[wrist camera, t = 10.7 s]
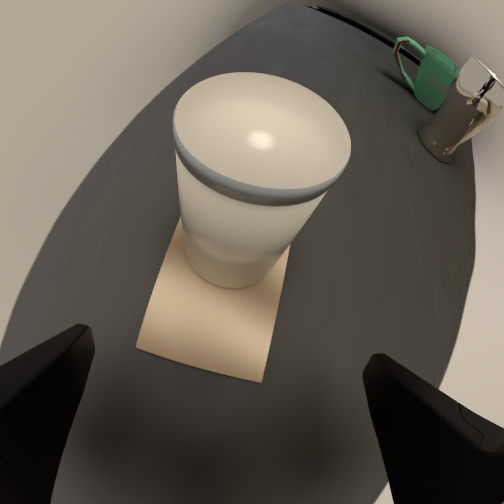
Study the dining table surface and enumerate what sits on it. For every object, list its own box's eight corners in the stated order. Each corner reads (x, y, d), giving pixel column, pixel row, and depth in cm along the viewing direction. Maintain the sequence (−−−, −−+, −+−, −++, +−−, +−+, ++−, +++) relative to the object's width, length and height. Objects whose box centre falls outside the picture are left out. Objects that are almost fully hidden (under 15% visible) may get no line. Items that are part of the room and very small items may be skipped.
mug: (441, 105, 37) (466, 72, 28) (448, 129, 33) (479, 91, 24) (379, 64, 38) (400, 26, 29) (377, 81, 33) (403, 35, 24)
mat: (259, 382, 15) (262, 383, 14) (137, 347, 14) (134, 347, 14) (294, 212, 20) (297, 207, 19) (195, 184, 19) (196, 177, 19)
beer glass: (456, 173, 28) (521, 105, 14) (421, 152, 27) (487, 70, 14) (444, 141, 31) (497, 77, 17) (410, 120, 30) (463, 46, 17)
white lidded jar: (284, 287, 17) (374, 196, 8) (183, 290, 16) (162, 186, 6) (273, 202, 19) (326, 84, 10) (184, 201, 18) (182, 68, 9)
